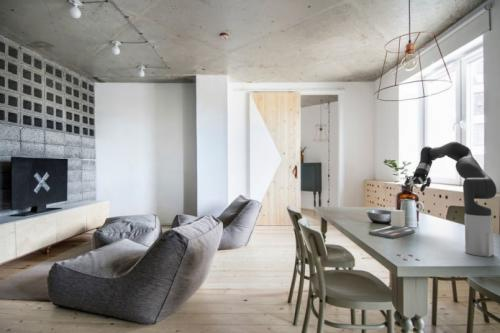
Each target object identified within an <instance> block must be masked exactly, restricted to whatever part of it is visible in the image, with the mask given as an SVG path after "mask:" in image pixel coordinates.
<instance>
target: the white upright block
mask: <svg viewBox="0 0 500 333" xmlns="http://www.w3.org/2000/svg"><path fill="white" fill-rule="evenodd" d="M405 213H406V212H405V210H403V209H402V210H400V209H391V210H390V222H391V223H390V226H392V229H400V228H404V227H406V224H405V223H406V220H405V218H406V217H405V216H406V214H405Z"/></svg>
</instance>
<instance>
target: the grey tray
mask: <svg viewBox="0 0 500 333" xmlns="http://www.w3.org/2000/svg"><path fill="white" fill-rule="evenodd" d="M415 231H416V230H415V229H411V228H410V227H408V226H404V228H400V229H392V225H389V226H385V227H382V228H377V229H372V230H369V231H368V234H369V235H371V236H372V235H373V236H378V237H383V238H387V239H396V238H400V237H405V236H407V235H411V234H414V233H415Z"/></svg>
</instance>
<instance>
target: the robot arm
mask: <svg viewBox="0 0 500 333" xmlns="http://www.w3.org/2000/svg"><path fill="white" fill-rule="evenodd" d="M445 157H448V158H450V159H451V160H454V161H455V162H456V163H455V169H456V172H457V173H458V175H459V176H460V177H461V178H463V179H464V180H463V183H462V184H463V185H462V190H463V191H462V192H463V203H464V204H463V205H464V207H463V208H464V242H465V244H464V248H465V250H464V251H465V253H466V254H470V255H473V256H479V257H488V258H490V257H492V256H493V255H495V247H494V246H495V245H494V244H495V241H494V239H495V238H494V232H493V228H492V227H493V226H492V224H493V223H492V209H491V208H489V207H486V206H484V205H481V204H479V203H477V202H476V201H475V199H476V200H480V199H481V200H490V199H493V198H495V196H496V195H497V186H496V183H495V181H494V180H493V178H492V177H491V176H489V175H488V174H487V173H486V172H485V171H484V170H483V169H482V167H481V165H480V164H479V163H478V162H477V160H476V159H475V158H474V155H473V154H472V151H471V149H470V148H469V147H467V146H466V145H464V144H462V143H460V142H458V141H455V140H454V141H449V142H447V143H445V144H443V145H441V146H436V147H431V146H429V145H427V146H423V147H422V148H421V151H420V158H419V163H418V164H417V166H416V167H415V168H416V169H415V171H414V173H413V175H412V177H409V179H408V178H407V177H406V179H405V181H404V185H405V190H406V192H409V191H410V189H411V187H412V186H414V185H421V187H420V188H419V191H420V192H421V193H422V192H423V193H424V192H425V189H426V188H428V187H429V188H430V186H431V183H432V179H431V177H430V176H428V175H429V173H430V171H431V167H432V165H433V161H436V160H438V159H442V158H445ZM425 175H426V176H425Z"/></svg>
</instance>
